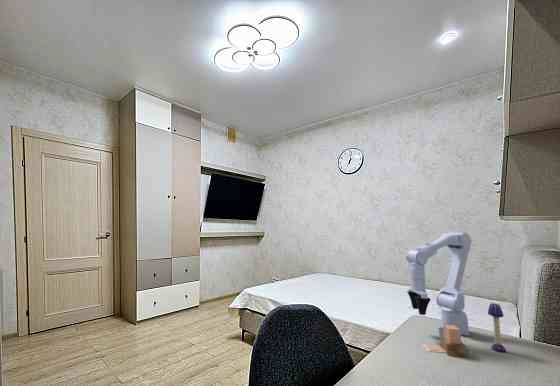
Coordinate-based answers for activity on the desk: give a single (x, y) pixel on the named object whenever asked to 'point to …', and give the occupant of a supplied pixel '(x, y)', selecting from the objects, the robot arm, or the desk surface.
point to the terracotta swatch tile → (433, 348)
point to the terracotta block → (452, 334)
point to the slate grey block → (441, 333)
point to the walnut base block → (453, 348)
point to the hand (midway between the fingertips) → (418, 311)
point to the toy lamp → (496, 326)
